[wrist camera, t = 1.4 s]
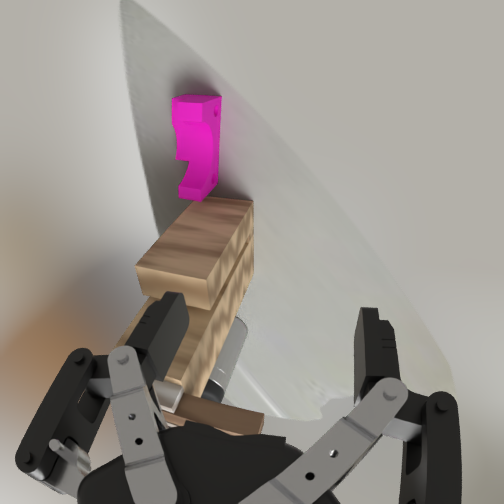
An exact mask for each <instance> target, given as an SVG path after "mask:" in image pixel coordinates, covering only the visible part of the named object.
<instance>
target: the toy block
mask: <svg viewBox="0 0 504 504" xmlns="http://www.w3.org/2000/svg"><path fill="white" fill-rule="evenodd" d="M221 99H222V96H208V95H189V94H184V95H181V96H178V97H174V98H172V125H173V127H174V129H175V132H176V137H177V152H176V159H175V160H183V161H189V165H188V168H187V171H186V174H185V176H184V178H183V180H182V182H181V183H180V185H179V186H178V192H179V198H182V199H188V200H193V201H199V202H201V201H202V200H203V199H204V198H205V197H206V196H207V195H208V194H209V193H210V191H211V190H212V189H213V188H214V187H215V186H216V185H217V184H218V166H219V140H220V119H221Z"/></svg>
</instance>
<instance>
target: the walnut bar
mask: <svg viewBox="0 0 504 504" xmlns="http://www.w3.org/2000/svg"><path fill="white" fill-rule="evenodd" d="M162 412H163V415H164V418H165V420H166V421H168V422H171V423H173V424H176V425H179V426H184V423H185V421H186V420H189V421H193V422H198V423H202V424H207V425H210V426H212V427H214V428H217V429H219V430H221V431H223V432H225V433H228V434H230V435H234V436H236V435H252V434H261V431H262V427H263V425H264V413H259V412H254V411H250V410H246V409H241V408H237V407H233V406H229V405H225V404H221V403H218V402H214V401H210V400H207V399H203V398H200V397H196V396H193V395H190V394H186V393H183V395H182V397H181V399H180V401H179V403H178V406H177V408H176V410H175V412H174V413H172V412H169V411H166V410H163V409H162Z"/></svg>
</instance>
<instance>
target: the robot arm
mask: <svg viewBox="0 0 504 504" xmlns="http://www.w3.org/2000/svg"><path fill="white" fill-rule="evenodd" d="M189 320H190V319H189V313H188V310H187V306H186V302H185V298H184V295H183V293H179V292H171V291H166V292H165V293H164V295H163V297H162V298H161V300H160V301H155V302H153V303H152V304H151V305H150V306H148V307H147V309H146V311H145V312H144V314H143V317H141V319H140V320H139V323H137V325H136V327H135V328H134V330H133V332H132V333H131V335H130V336H129V338H128V340H127V341H126V343H125V345H124V346H120V347H117V348H115V349H114V350H113V351H112V352H111V353H110V354H109V355H97V356H93V354H92V353H91V351H90V350H89V349H86V348H79V349H76V350H74V351H73V352H72V353H71V354H70V355H69V356H68V358H67V360H66V361H65V363H64V365H63V366H62V368H61V370H60V371H59V373H58V375H57V376H56V378H55V380H54V382H53V383H52V385H51V387H50V389H49V390H48V392H47V394H46V396H45V397H44V399H43V401H42V403H41V405H40V407H39V408H38V410H37V412H36V414H35V416H34V418H33V420H32V422H31V424H30V425H29V427H28V429H27V431H26V433H25V435H24V437H23V439H22V441H21V444H20V445H19V448H18V450H17V452H16V455H15V462H16V465H17V467H18V468H19V469H20V470H21V471H22V472H24V473H25V474H27V475H28V476H30V477H32V478H33V479H35V480H37V481H39V482H40V483H42V484H43V485H45V486H47V487H49V488H50V489H52V490H54V491H56V492H58V493H60V494H68V495H71V496H72V497H74V498H76V499H77V502H78V504H340V502H339V501H338V500H337V498H336V497H335V495H334V494H333V493H332V491H333V490H334V489H335V488H336V487H337V486H338V485H339V484H340V483H341V482H342V481H343V480H344V479H345V478H346V477H347V476H348V475H349V474H350V473H351V472H352V471H353V469H354V468H355V467H356V466H357V465H358V464H359V462H360V461H361V460H362V459H363V458H364V457H365V456H366V455H367V453H368V452H369V451H370V450H371V449H372V448H373V447H374V445H375V444H376V443H377V442H378V441H379V440H380V438H381V437H382V436H383V435H385V436H389V437H392V438H396V439H399V440H403V457H402V473H401V485H400V495H399V504H461V496H462V494H461V493H462V462H461V440H460V426H459V416H458V406H457V402H456V400H455V398H454V397H453V396H452V395H451V394H449V393H447V392H443V391H439V392H435V393H433V394H431V395H430V396H429V397H427V396H424V395H420V394H417V393H414V392H412V391H410V390H408V389H407V387H406V385H405V384H404V383H403V382H402V381H401V378H400V371H399V363H398V355H397V349H396V341H395V333H394V329H393V327H392V326H391V324H390V323H389V321H388V320H379V313H378V308H368V307H361V308H360V312H359V317H358V321H357V326H356V330H355V336H354V407H355V408H354V409H353V410H352V412H351V413H350V414H349V415H348V416H346V417H343V418H341V419H340V420H339V421H338V422H337V423H336V424H335V425H334V426H333V427H332V428H331V429H330V430H329V431H327V433H326V434H324V435H323V436H322V437H321V438H320V439H319V440H318V441H317V442H316V443H315V444H314V445H313V446H312V447H311V448H309V449H308V450H307V451H306V452H305V453H303V452H302V451H301V450H299V449H298V448H296V447H294V446H292V445H289V444H287V443H286V437H281V436H272V435H265V434H252V435H236V436H234V435H230V434H228V433H225V432H223V431H221V430H219V429H217V428H214V427H212V426H210V425H207V424H202V423H198V422H193V421H189V420H186V421H185V423H184V426H175V427H170V426H168V424H167V422H166V420H165V418H164V415H163V412H162V409H161V406H160V403H159V400H158V397H157V394H156V391H155V388H154V385H153V382H154V380H157V381H162V382H163V381H164V378H165V376H166V374H167V372H168V370H169V368H170V366H171V363H172V361H173V359H174V357H175V355H176V353H177V351H178V348H179V346H180V344H181V342H182V340H183V338H184V336H185V334H186V332H187V329H188V327H189ZM247 333H248V331H247V327H246V325H245V324H244V323H243V322H242V321H241V320H240V319H238V318H237V317H235V318H234V321H233V323H232V325H231V328H230V330H229V332H228V335H227V337H226V339H225V342H224V344H223V346H222V349H221V351H220V353H219V356H218V358H217V360H216V363H215V365H214V367H213V370H212V372H211V374H210V377H209V379H208V381H207V384H206V386H205V388H204V390H203V393H202V395H201V397H200V398H203V399H207V400H210V401H214V402H218V403H221V401H222V399H223V397H224V394H225V391H226V389H227V386H228V384H229V381H230V378H231V376H232V373H233V370H234V368H235V365H236V362H237V360H238V357H239V354H240V352H241V349H242V347H243V344H244V341H245V339H246V336H247ZM84 390H85V391H84ZM83 392H84V393H83ZM82 394H83V395H82ZM81 395H82V397H81ZM80 397H81V399H80ZM79 399H80V401H79ZM78 401H79V403H78ZM110 402H111V407H112V411H113V416H114V421H115V425H116V430H117V434H118V438H119V442H120V446H121V450H122V455H120V456H118V457H117V458H115V459H113V460H112V461H110V462H108V463H106V464H104V465H102V466H101V467H99V468H97V469H96V470H93V471H91V466H90V457H89V455H88V452H89V450H90V448H91V445H92V443H93V441H94V438H95V436H96V434H97V431H98V429H99V427H100V424H101V422H102V420H103V418H104V416H105V413H106V411H107V409H108V406H109V404H110ZM90 471H91V472H90Z"/></svg>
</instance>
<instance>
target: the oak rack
mask: <svg viewBox="0 0 504 504" xmlns="http://www.w3.org/2000/svg"><path fill="white" fill-rule="evenodd" d="M135 268H136V272H137V276H138V279H139V282H140V286H141V289H142V293H143V295H146V296H150V297H149V298H148V300H147V301H146V303H145V304H144V305H143V307H142V308H141V309H140V311H139V312H138V314H137V315H136V317H135V318H134V320H133V321H132V322H131V324H130V325H129V327H128V328H127V330H126V331H125V332H124V334H123V335H122V337H121V338H120V340H119V341H118V343H117V344H116V346H115V347H114V349H115V348H117V347H120V346H124V345H125V343H126V341H127V340H128V338H129V336H130V335H131V333H132V332H133V330H134V328H135V327H136V325H137V323H139V320H140V319H141V317H143V314H144V312H145V311H146V309H147V307H148V306H150V305H151V304H152V303H153V302H155V301H160V300H161V298H162V297H163V295H164V293H165V292H166V291H171V292H179V293H183V295H184V298H185V302H186V306H187V310H188V313H189V319H190V320H189V327H188V329H187V332H186V334H185V336H184V338H183V340H182V342H181V344H180V346H179V348H178V351H177V353H176V355H175V357H174V359H173V361H172V363H171V366H170V368H169V370H168V372H167V374H166V376H165V378H164V381H163V382H162V381H157V380H154V382H153V385H154V388H155V391H156V394H157V397H158V400H159V403H160V406H161V409H163V410H166V411H169V412H172V413H174V412H175V410H176V408H177V406H178V403H179V401H180V399H181V397H182V395H183V393H186V394H190V395H193V396H196V397H201V395H202V393H203V390H204V388H205V386H206V384H207V381H208V379H209V377H210V374H211V372H212V370H213V367H214V365H215V363H216V360H217V358H218V356H219V353H220V351H221V349H222V346H223V344H224V342H225V339H226V337H227V335H228V332H229V330H230V328H231V325H232V323H233V321H234V318H235V316H236V314H237V311H238V309H239V307H240V304H241V302H242V300H243V297H244V295H245V293H246V290H247V288H248V285H249V283H250V281H251V278H252V276H253V274H254V245H253V201H247V200H238V199H229V198H219V197H209V196H206V197H205V198H204V199H203V200H202V201H201V202H199V201H193V202H192V203H191V204H190V205H189V206H188V207H187V208H186V209H185V210H184V211H183V212H182V214H181V215H180V216H179V217H178V218H177V219H176V220H175V221H174V222H173V223H172V224H171V225H170V227H169V228H168V229H167V230H166V231H165V232H164V233H163V234H162V235H161V236H160V238H159V239H158V240H157V241H156V242H155V243H154V244H153V245H152V247H151V248H150V249H149V250H148V251H147V252H146V253H145V255H144V256H143V257H142V258H141V259H140V260H139V261H138V263H137V264H136V265H135ZM114 349H113V350H114ZM113 350H112V351H113ZM166 422H167V424H168V426H170V427H175V426H179V425H176V424H173V423H171V422H168V421H166Z"/></svg>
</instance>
